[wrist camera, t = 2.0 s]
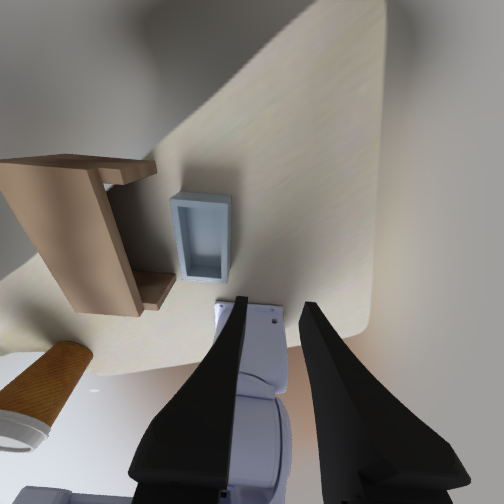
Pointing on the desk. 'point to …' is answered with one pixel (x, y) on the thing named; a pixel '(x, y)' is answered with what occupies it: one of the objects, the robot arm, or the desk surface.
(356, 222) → the desk surface
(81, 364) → the disposable coffee cup
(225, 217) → the grey tray
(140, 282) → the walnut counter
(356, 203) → the desk surface
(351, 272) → the desk surface
